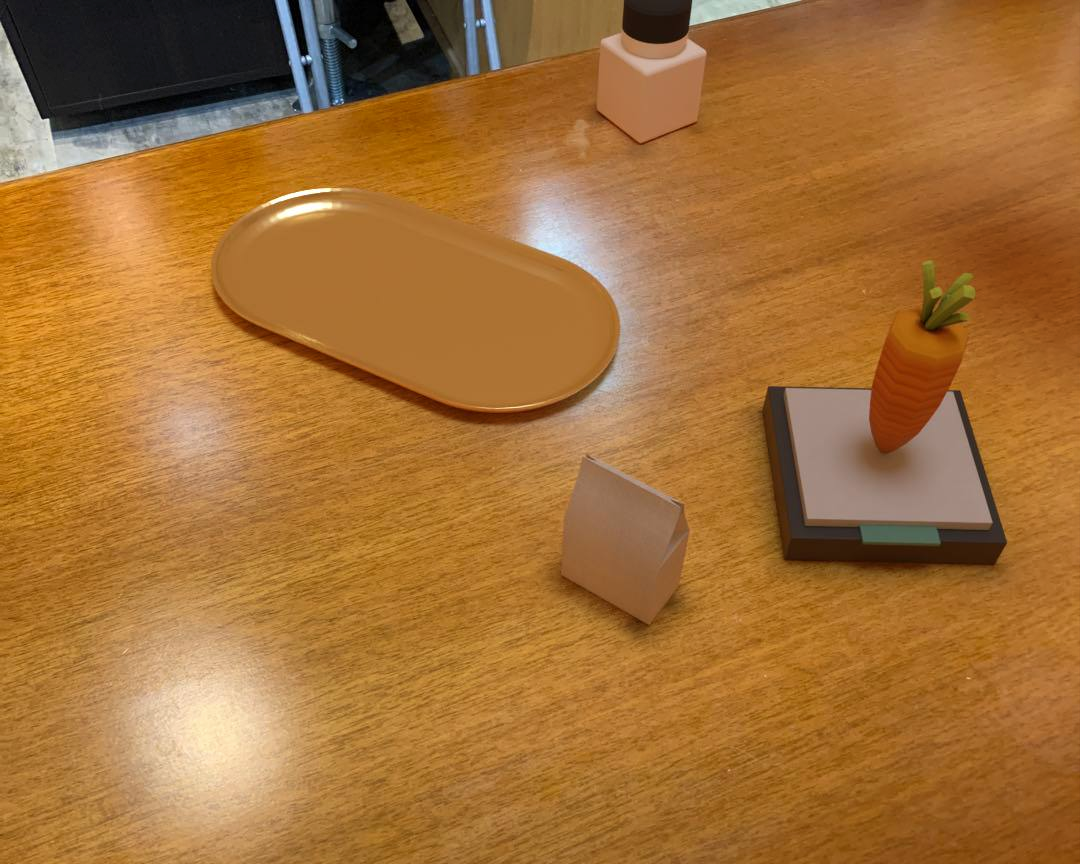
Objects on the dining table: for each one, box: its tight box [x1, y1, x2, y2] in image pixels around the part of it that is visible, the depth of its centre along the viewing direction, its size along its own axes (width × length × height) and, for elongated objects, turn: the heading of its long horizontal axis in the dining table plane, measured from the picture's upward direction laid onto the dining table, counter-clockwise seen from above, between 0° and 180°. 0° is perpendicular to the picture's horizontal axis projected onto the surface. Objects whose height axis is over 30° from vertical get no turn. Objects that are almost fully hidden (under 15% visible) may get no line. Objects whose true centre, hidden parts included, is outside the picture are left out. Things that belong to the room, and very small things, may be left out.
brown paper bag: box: [560, 453, 691, 626], centre depth 67 cm, size 4×7×10 cm, turn 55°
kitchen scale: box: [762, 385, 1008, 565], centre depth 75 cm, size 14×14×3 cm
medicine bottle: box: [596, 0, 708, 144], centre depth 100 cm, size 7×7×12 cm
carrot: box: [869, 259, 976, 453], centre depth 68 cm, size 5×5×15 cm
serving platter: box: [210, 187, 621, 414], centre depth 87 cm, size 19×35×2 cm, turn 61°
